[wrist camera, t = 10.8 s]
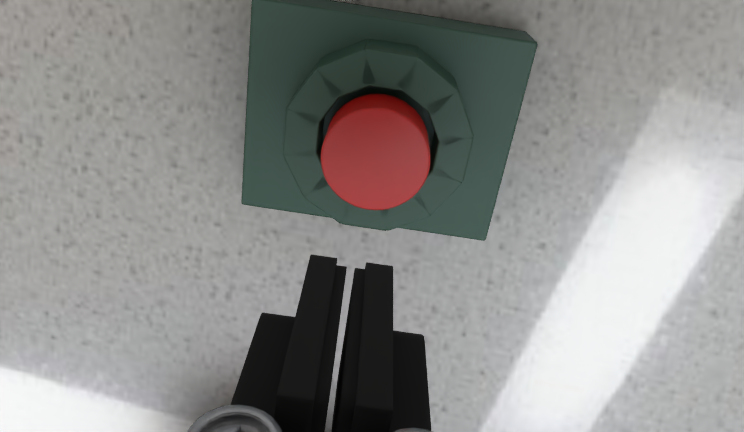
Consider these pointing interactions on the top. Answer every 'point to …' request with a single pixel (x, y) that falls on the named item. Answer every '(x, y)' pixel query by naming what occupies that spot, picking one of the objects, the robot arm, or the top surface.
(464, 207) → the control box
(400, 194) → the stop button
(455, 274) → the top surface
